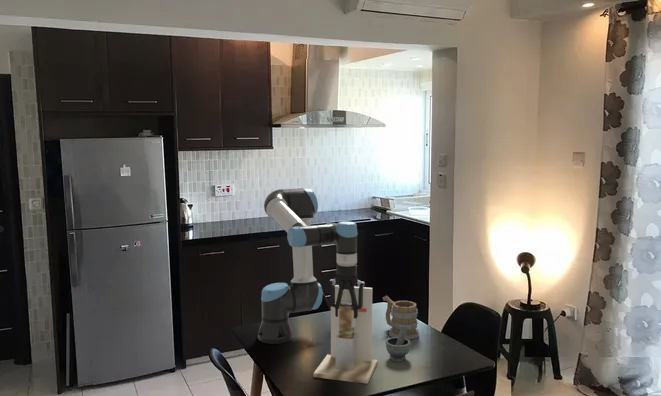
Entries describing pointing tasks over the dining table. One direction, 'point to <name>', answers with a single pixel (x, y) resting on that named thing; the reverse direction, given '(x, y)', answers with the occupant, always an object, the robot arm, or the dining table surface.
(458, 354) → the dining table surface
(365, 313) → the board
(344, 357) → the metal sleeve
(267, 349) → the dining table surface
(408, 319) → the tankard
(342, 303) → the oak post
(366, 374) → the birch base plate
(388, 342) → the mortar and pestle
